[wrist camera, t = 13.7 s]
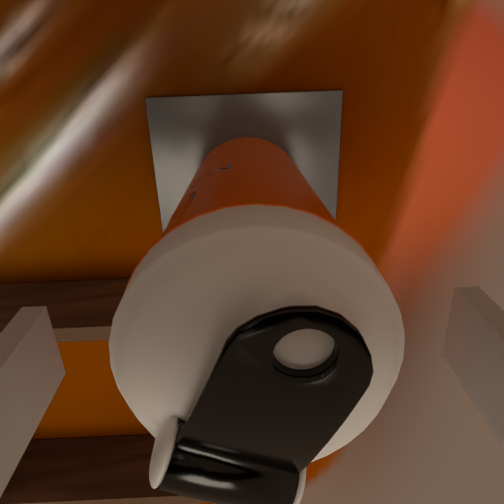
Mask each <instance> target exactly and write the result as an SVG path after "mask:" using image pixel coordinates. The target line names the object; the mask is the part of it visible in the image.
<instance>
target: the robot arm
mask: <svg viewBox="0 0 504 504" xmlns="http://www.w3.org/2000/svg"><path fill="white" fill-rule="evenodd" d="M441 355H442V357H443V358H444V359H445V361H446V363H447V364H448V366H449V367H450V369H451V370H452V372H453V373H454V375H455V376H456V378H457V379H458V381H459V382H460V384H461V385H462V387H463V388H464V390H465V391H466V393H467V394H468V396H469V397H470V399H471V400H472V402H473V403H474V405H475V406H476V408H477V409H478V411H479V412H480V414H481V415H482V417H483V418H484V420H485V422H486V423H487V425H488V426H489V428H490V429H491V430H492V432H493V433H494V435H495V437H496V438H497V440H498V441H499V442H500V444H501V446H502V447H503V449H504V311H503V310H502V309H501V308H500V307H499V306H498V305H497V304H496V303H495V302H494V301H493V300H492V299H491V298H490V297H489V296H488V295H487V294H486V293H485V292H484V291H483V290H482V289H481V288H480V287H479V286H471V287H455V290H454V295H453V300H452V305H451V310H450V315H449V320H448V325H447V329H446V335H445V340H444V344H443V350H442V354H441ZM64 375H65V370H64V366H63V363H62V359H61V356H60V352H59V349H58V345H57V342H56V338H55V335H54V332H53V328H52V325H51V321H50V318H49V314H48V311H47V307H46V306H37V307H22V308H21V309H20V310H19V311H18V313H17V314H16V315H15V316H14V317H13V319H12V320H11V321H10V322H9V323H8V325H7V326H6V327H5V328H4V330H3V331H2V332H1V333H0V498H1V496H2V494H3V492H4V490H5V488H6V486H7V484H8V482H9V480H10V478H11V477H12V475H13V473H14V471H15V469H16V467H17V465H18V463H19V461H20V459H21V457H22V456H23V454H24V452H25V450H26V448H27V446H28V444H29V442H30V440H31V438H32V436H33V435H34V433H35V431H36V429H37V427H38V425H39V423H40V421H41V419H42V417H43V415H44V413H45V412H46V410H47V408H48V406H49V404H50V402H51V400H52V398H53V396H54V394H55V392H56V391H57V389H58V387H59V385H60V383H61V381H62V379H63V377H64Z"/></svg>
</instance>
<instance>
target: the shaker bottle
mask: <svg viewBox="0 0 504 504" xmlns="http://www.w3.org/2000/svg"><path fill="white" fill-rule="evenodd" d="M404 339H405V333H404V328H403V323H402V317H401V312H400V309H399V307H398V305H397V303H396V301H395V299H394V296H393V294H392V292H391V290H390V288H389V286H388V285H387V283H386V282H385V280H384V278H383V277H382V275H381V274H380V272H379V270H378V268H377V266H376V264H375V262H374V260H373V259H372V258H371V256H370V255H369V254H368V253H367V251H366V250H365V249H364V248H363V246H362V245H361V244H360V243H359V241H357V240H356V239H355V238H354V237H352V236H351V235H350V234H349V233H347V232H346V231H345V230H344V229H342V228H341V227H340V226H339V225H338V223H337V222H336V221H335V219H334V218H333V216H332V215H331V214H330V212H329V211H328V209H327V208H326V207H325V205H324V204H323V202H322V201H321V200H320V198H319V197H318V196H317V194H316V193H315V191H314V190H313V189H312V187H311V186H310V184H309V183H308V182H307V180H306V179H305V177H304V176H303V175H302V173H301V172H300V170H299V169H298V168H297V166H296V165H295V164H294V162H293V161H292V160H291V158H290V157H289V156H288V155H287V153H286V152H285V151H283V150H282V149H281V148H280V147H278V146H277V145H275V144H273V143H271V142H269V141H267V140H263V139H260V138H254V137H242V138H235V139H232V140H229V141H226V142H224V143H222V144H220V145H219V146H217V147H215V148H214V149H213V150H212V151H211V152H210V153H209V154H208V155H207V156H206V157H205V159H204V160H203V161H202V163H201V164H200V166H199V168H198V170H197V172H196V173H195V175H194V177H193V179H192V181H191V183H190V184H189V186H188V188H187V190H186V192H185V193H184V195H183V197H182V199H181V201H180V202H179V204H178V206H177V208H176V210H175V212H174V214H173V215H172V217H171V219H170V221H169V223H168V225H167V227H166V229H165V230H164V232H163V233H162V235H161V237H160V239H158V240H157V241H156V242H155V243H154V244H152V245H151V246H150V248H149V249H148V250H147V252H146V253H145V254H144V256H143V257H142V258H141V259H140V261H139V262H138V263H137V265H136V266H135V268H134V270H133V272H132V275H131V277H130V279H129V281H128V284H127V286H126V288H125V293H124V295H123V297H122V299H121V301H120V304H119V306H118V308H117V310H116V312H115V315H114V317H113V321H112V326H111V332H110V338H109V353H110V366H111V369H112V372H113V375H114V378H115V381H116V384H117V387H118V389H119V391H120V392H121V394H122V396H123V397H124V399H125V401H126V402H127V404H128V406H129V407H130V409H131V410H132V411H133V413H134V414H135V416H136V417H137V419H138V420H139V421H140V422H141V423H142V425H143V426H144V427H145V428H146V429H147V430H148V431H149V432H150V433H151V434H152V435H153V436H154V437H155V442H154V447H153V451H152V456H151V461H150V468H149V481H150V485H151V487H152V488H153V489H156V488H157V490H158V491H162V492H166V493H171V494H175V495H179V496H184V497H188V498H192V499H197V500H201V501H206V502H210V503H214V504H300V501H301V499H302V496H303V492H304V488H305V481H306V466H307V465H308V464H309V463H310V462H312V461H315V460H317V459H320V458H322V457H325V456H327V455H329V454H331V453H333V452H334V451H336V450H338V449H340V448H341V447H343V446H345V445H346V444H348V443H349V442H350V441H351V440H353V439H354V438H355V437H356V436H358V435H359V434H360V433H361V432H362V431H364V430H365V428H366V427H367V426H368V425H369V424H370V423H371V421H372V420H373V419H374V418H375V417H376V416H377V414H378V413H379V411H380V409H381V407H382V406H383V404H384V402H385V400H386V399H387V397H388V395H389V393H390V391H391V389H392V387H393V385H394V384H395V382H396V380H397V377H398V374H399V370H400V367H401V363H402V361H403V357H404V356H403V355H404Z"/></svg>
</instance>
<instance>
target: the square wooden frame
mask: <svg viewBox="0 0 504 504" xmlns="http://www.w3.org/2000/svg"><path fill="white" fill-rule="evenodd" d="M128 281H129V279H107V280H84V281H60V282H37V283H13V284H0V333H1V332H2V331H3V330H4V328H5V327H6V326H7V325H8V323H9V322H10V321H11V320H12V319H13V317H14V316H15V315H16V314H17V313H18V311H19V310H20V309H21V308H22V307H37V306H46V307H47V311H48V314H49V318H50V321H51V325H52V328H53V332H54V335H55V338H56V342H70V341H93V340H109V338H110V332H111V326H112V321H113V317H114V315H115V312H116V310H117V308H118V306H119V304H120V301H121V299H122V297H123V295H124V293H125V288H126V286H127V284H128ZM154 442H155V437H154V436H153V435H152V434H149V435H128V436H106V437H85V438H64V439H42V440H30V442H29V444H28V446H27V448H26V450H25V452H24V454H23V456H22V457H21V459H20V461H19V463H18V465H17V467H16V469H15V471H14V473H13V475H12V477H11V478H10V480H9V482H8V484H7V486H6V488H5V490H4V492H3V494H2V496H1V498H0V504H196V503H203V501H201V500H197V499H192V498H188V497H184V496H179V495H175V494H171V493H166V492H162V491H158V490H157V488H156V489H153V488H152V487H151V485H150V481H149V468H150V461H151V456H152V451H153V447H154Z"/></svg>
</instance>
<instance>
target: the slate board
mask: <svg viewBox="0 0 504 504" xmlns="http://www.w3.org/2000/svg"><path fill="white" fill-rule="evenodd" d="M342 95H343V90H330V91H304V92H278V93H252V94H226V95H199V96H173V97H147V98H145V102H146V109H147V117H148V124H149V132H150V139H151V147H152V154H153V162H154V169H155V176H156V184H157V191H158V199H159V206H160V214H161V221H162V228H163V232H164V230H165V229H166V227H167V225H168V223H169V221H170V219H171V217H172V215H173V214H174V212H175V210H176V208H177V206H178V204H179V202H180V201H181V199H182V197H183V195H184V193H185V192H186V190H187V188H188V186H189V184H190V183H191V181H192V179H193V177H194V175H195V173H196V172H197V170H198V168H199V166H200V164H201V163H202V161H203V160H204V159H205V157H206V156H207V155H208V154H209V153H210V152H211V151H212V150H213V149H214V148H215V147H217V146H219V145H220V144H222V143H224V142H226V141H229V140H232V139H235V138H242V137H254V138H260V139H263V140H267V141H269V142H271V143H273V144H275V145H277V146H278V147H280V148H281V149H282V150H283V151H285V152H286V153H287V155H288V156H289V157H290V158H291V160H292V161H293V162H294V164H295V165H296V166H297V168H298V169H299V170H300V172H301V173H302V175H303V176H304V177H305V179H306V180H307V182H308V183H309V184H310V186H311V187H312V189H313V190H314V191H315V193H316V194H317V196H318V197H319V198H320V200H321V201H322V202H323V204H324V205H325V207H326V208H327V209H328V211H329V212H330V214H331V215H332V216H333V218H334V219H335V221H336V205H337V186H338V168H339V150H340V132H341V114H342Z"/></svg>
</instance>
